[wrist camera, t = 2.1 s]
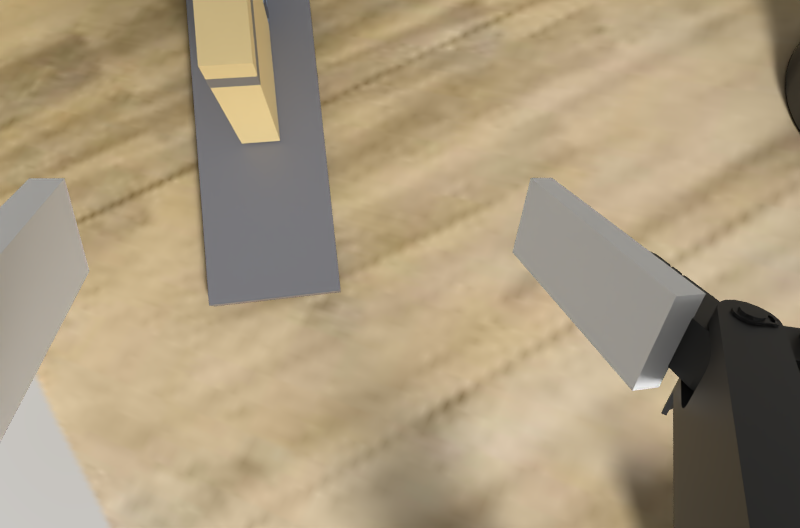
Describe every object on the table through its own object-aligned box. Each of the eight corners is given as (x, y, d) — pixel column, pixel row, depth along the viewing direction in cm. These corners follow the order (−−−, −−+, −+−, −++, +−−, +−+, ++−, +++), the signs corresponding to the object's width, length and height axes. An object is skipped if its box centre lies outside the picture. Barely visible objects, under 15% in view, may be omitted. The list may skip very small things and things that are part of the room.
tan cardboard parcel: (231, 26, 40) (185, -95, 29) (269, 25, 41) (238, -96, 29) (241, 143, 39) (197, 66, 28) (280, 141, 39) (253, 63, 28)
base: (183, -102, 43) (177, -117, 42) (298, -104, 44) (296, -119, 43) (214, 306, 39) (209, 305, 38) (340, 292, 40) (340, 290, 39)
